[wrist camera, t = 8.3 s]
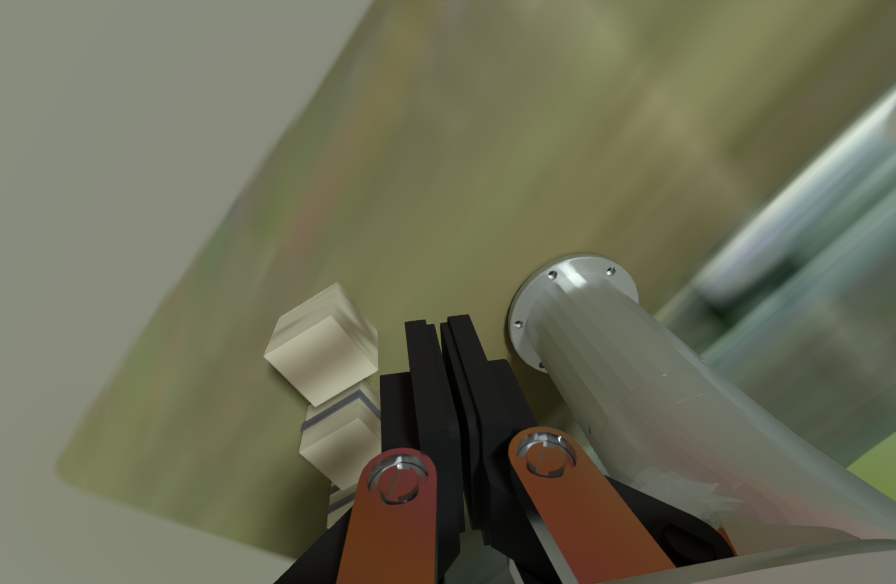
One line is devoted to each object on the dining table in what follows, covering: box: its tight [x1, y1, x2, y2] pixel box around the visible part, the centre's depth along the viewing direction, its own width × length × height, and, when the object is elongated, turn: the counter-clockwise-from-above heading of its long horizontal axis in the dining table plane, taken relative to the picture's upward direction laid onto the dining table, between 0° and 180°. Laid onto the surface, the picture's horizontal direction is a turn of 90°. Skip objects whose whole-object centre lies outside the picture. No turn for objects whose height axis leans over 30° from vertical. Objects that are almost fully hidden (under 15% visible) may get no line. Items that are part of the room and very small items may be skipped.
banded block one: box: [299, 379, 381, 491], centre depth 40 cm, size 6×6×6 cm
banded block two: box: [326, 482, 358, 529], centre depth 44 cm, size 6×6×6 cm
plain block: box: [264, 282, 378, 407], centre depth 36 cm, size 6×6×6 cm
